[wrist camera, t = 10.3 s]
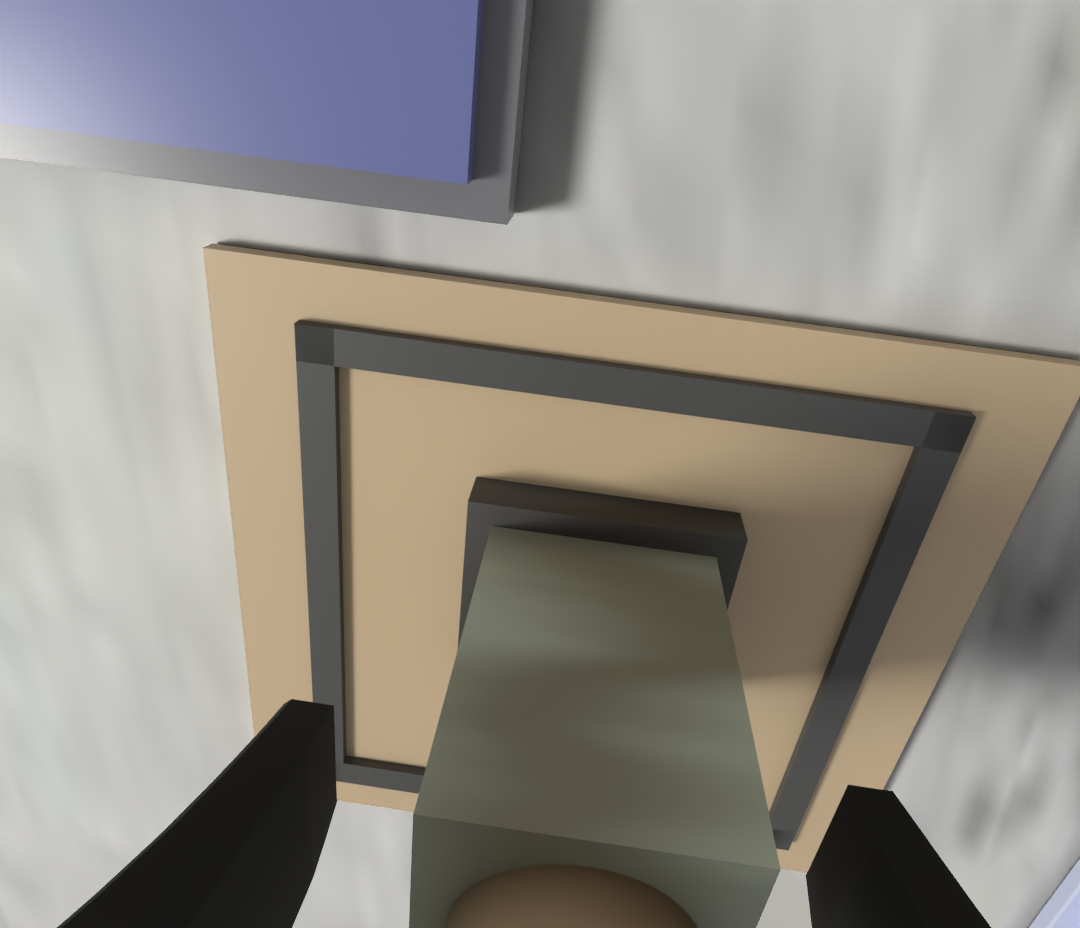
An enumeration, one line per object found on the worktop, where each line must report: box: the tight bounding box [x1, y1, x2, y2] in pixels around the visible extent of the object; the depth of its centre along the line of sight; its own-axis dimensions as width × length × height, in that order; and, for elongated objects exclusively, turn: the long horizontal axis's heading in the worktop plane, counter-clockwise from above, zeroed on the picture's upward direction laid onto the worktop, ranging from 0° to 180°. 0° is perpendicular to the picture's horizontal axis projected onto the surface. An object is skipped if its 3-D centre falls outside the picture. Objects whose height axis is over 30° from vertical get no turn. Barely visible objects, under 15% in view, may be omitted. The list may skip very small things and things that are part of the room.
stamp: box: [409, 477, 780, 928], centre depth 10 cm, size 4×4×7 cm
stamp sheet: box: [203, 244, 1080, 872], centre depth 14 cm, size 13×12×1 cm
